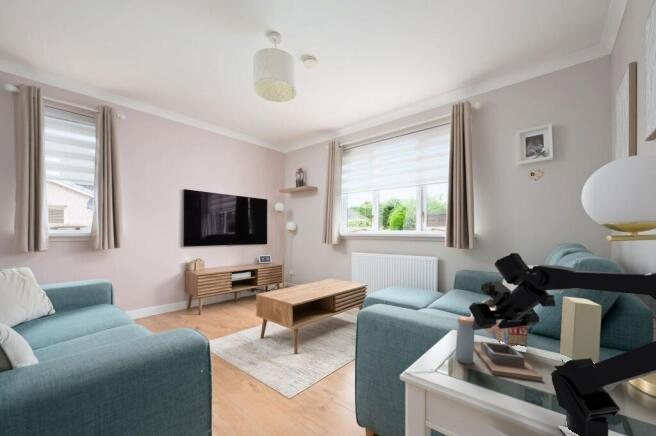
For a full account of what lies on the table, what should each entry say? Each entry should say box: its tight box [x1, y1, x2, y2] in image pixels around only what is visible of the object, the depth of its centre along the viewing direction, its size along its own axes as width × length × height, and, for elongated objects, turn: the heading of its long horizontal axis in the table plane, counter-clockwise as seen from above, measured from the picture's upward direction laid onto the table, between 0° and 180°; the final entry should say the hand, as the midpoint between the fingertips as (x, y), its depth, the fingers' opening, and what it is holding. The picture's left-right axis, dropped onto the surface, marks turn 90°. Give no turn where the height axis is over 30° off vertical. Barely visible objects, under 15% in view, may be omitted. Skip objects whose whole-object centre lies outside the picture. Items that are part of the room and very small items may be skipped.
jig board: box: [474, 340, 543, 382], centre depth 88 cm, size 20×13×4 cm, turn 170°
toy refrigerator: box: [559, 296, 602, 363], centre depth 86 cm, size 8×7×21 cm
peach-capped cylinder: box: [455, 315, 475, 365], centre depth 87 cm, size 5×5×13 cm
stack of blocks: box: [486, 306, 529, 348], centre depth 105 cm, size 21×6×12 cm, turn 170°
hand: (486, 327), depth 80 cm, fingers open, 9 cm apart
